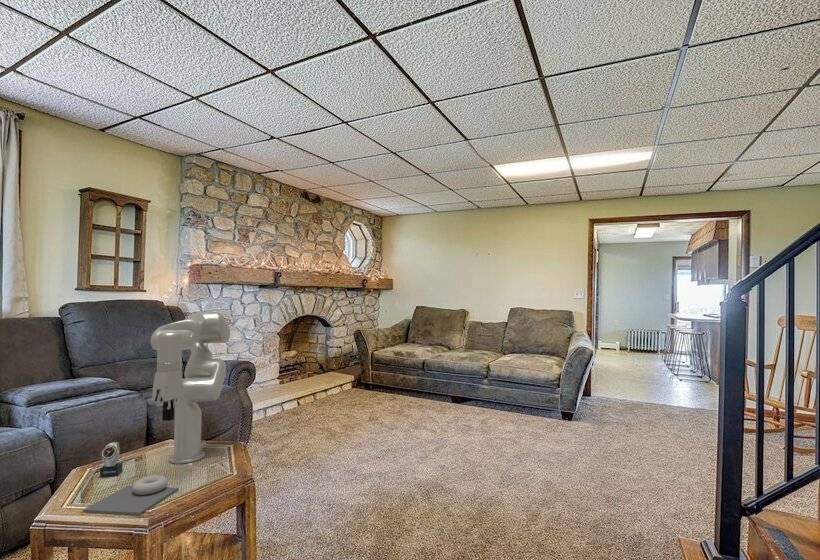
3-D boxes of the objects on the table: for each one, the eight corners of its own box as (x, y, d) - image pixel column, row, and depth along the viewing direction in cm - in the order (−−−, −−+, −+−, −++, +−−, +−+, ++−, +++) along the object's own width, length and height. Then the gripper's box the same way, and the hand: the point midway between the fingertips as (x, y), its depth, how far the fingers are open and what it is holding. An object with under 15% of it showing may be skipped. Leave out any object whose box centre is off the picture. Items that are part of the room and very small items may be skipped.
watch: (97, 479, 147) (98, 447, 147) (107, 471, 154) (108, 440, 155) (115, 478, 148) (117, 446, 149) (124, 469, 156) (125, 439, 157)
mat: (127, 488, 140) (128, 485, 140) (178, 490, 138) (178, 487, 138) (82, 512, 123) (82, 509, 123) (139, 515, 121) (139, 512, 121)
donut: (143, 484, 141) (124, 497, 131) (143, 473, 141) (124, 485, 131) (173, 483, 141) (157, 496, 131) (174, 473, 141) (157, 484, 132)
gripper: (173, 363, 155) (172, 413, 154) (143, 370, 140) (142, 426, 140) (192, 364, 154) (191, 414, 154) (164, 371, 140) (163, 426, 139)
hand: (168, 419), depth 147 cm, fingers closed
